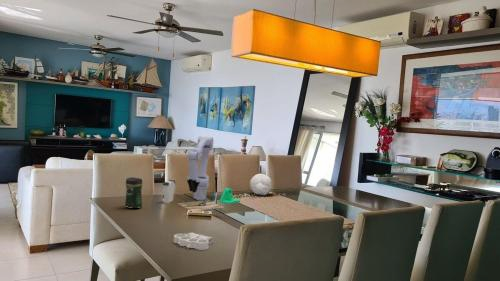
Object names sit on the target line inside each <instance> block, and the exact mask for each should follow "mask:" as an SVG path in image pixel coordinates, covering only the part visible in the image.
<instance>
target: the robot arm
mask: <svg viewBox="0 0 500 281" xmlns="http://www.w3.org/2000/svg"><path fill="white" fill-rule="evenodd" d="M213 147H214V137H213V136H199V137H198V138H197V144H196V145H195V146H194V147H193V149H192V150H191V151H189V152H188V154H187V155H188V156H187V158H188V165H189V167H188V168H189V169H188V175H186V179H187V180H186V183H187V184H188V188H189V189H188V190H189V192H192V199H195V200H196V201H203V199H204V198H207V189H208V188H209V185H210V176H209V175H208V174H207V171H208V170H207V169H208V164H209V157H210V153H211V151H213ZM199 161H200V163H199Z"/></svg>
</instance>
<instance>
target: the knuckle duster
mask: <svg viewBox="0 0 500 281" xmlns="http://www.w3.org/2000/svg"><path fill="white" fill-rule="evenodd" d="M213 242H214V238H213V237H211V236H207V235H203V234H198V233H195V232H189V233H176V234H173V244H175V243H178V244H179V245H180V246H179V245H178V244H177V245H178V246H179V247H181V246H186V247H187V248H186V247H185V248H186V249H189V248H195V249H194V250H198V251H206V250H208V249H209V245H210V244H212V243H213Z"/></svg>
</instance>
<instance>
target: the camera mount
mask: <svg viewBox="0 0 500 281" xmlns="http://www.w3.org/2000/svg"><path fill="white" fill-rule="evenodd" d="M219 202H220V203H223V204H228V205H229V204H235V203H238V204H240V203H241V200H240V199H237V198H235V197H234V195H233V189H232V188H230V187H229V188H228V187H225V188H224V191H223V193H222V194H221V197H220V199H219Z"/></svg>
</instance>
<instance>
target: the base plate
mask: <svg viewBox="0 0 500 281" xmlns="http://www.w3.org/2000/svg"><path fill="white" fill-rule="evenodd" d="M202 201H203V202H204V203H206V205H205V206H199V205H193V206H187V202H181V203H180V202H178V203H176V204H177V205H178V206H181V207H184V208H185V209H188V210H189V211H192V212H194V211H204V210H211V209H221V208H223V206H222V205H220V204H218V203H215V202H213V201H211V200H210V199H209V198H207V197H206V198H204V199H203V200H202Z"/></svg>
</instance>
